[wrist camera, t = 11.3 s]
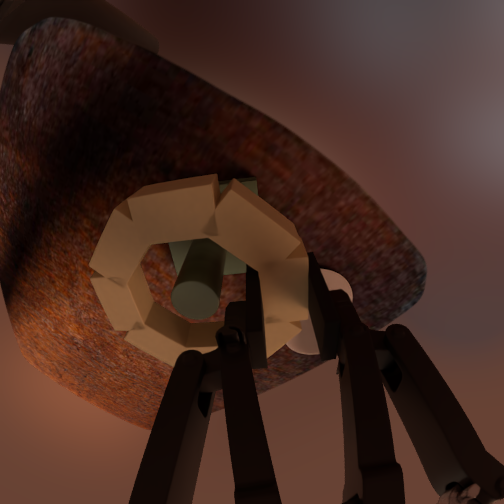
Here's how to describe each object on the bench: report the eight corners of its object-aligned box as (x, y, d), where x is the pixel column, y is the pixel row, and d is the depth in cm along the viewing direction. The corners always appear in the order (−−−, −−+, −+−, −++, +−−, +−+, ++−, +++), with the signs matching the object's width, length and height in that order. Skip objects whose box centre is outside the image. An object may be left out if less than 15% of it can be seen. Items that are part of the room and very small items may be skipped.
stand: (161, 190, 24) (106, 243, 14) (255, 176, 24) (261, 223, 14) (181, 271, 29) (152, 351, 18) (265, 263, 28) (274, 346, 18)
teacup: (348, 326, 33) (359, 352, 29) (272, 339, 33) (275, 367, 29) (352, 259, 28) (368, 283, 24) (262, 273, 29) (264, 300, 25)
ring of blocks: (86, 199, 15) (65, 213, 13) (296, 164, 15) (305, 174, 12) (144, 347, 22) (136, 369, 19) (302, 338, 21) (306, 363, 19)
